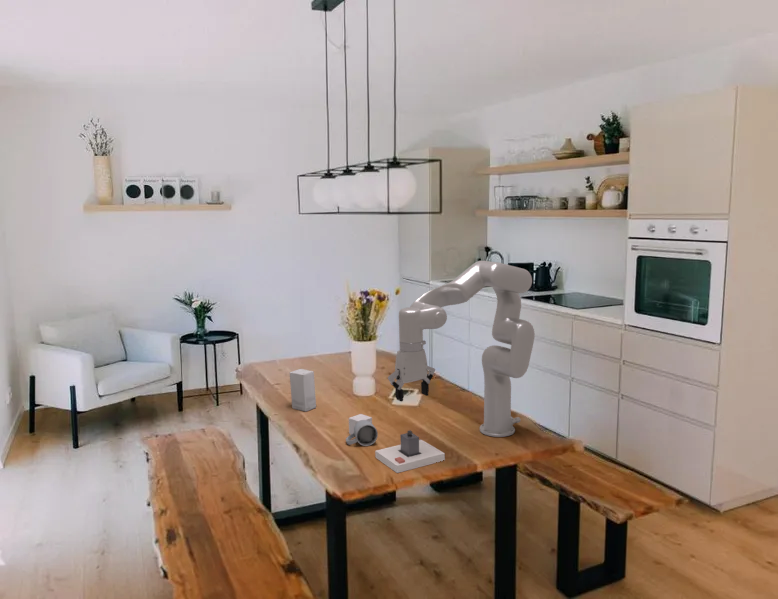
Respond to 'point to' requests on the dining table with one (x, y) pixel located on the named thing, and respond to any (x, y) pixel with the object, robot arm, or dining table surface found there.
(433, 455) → the socket plate
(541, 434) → the dining table surface
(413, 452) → the plug
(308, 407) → the skincare box
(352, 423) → the light grey cube
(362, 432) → the ceramic mug
